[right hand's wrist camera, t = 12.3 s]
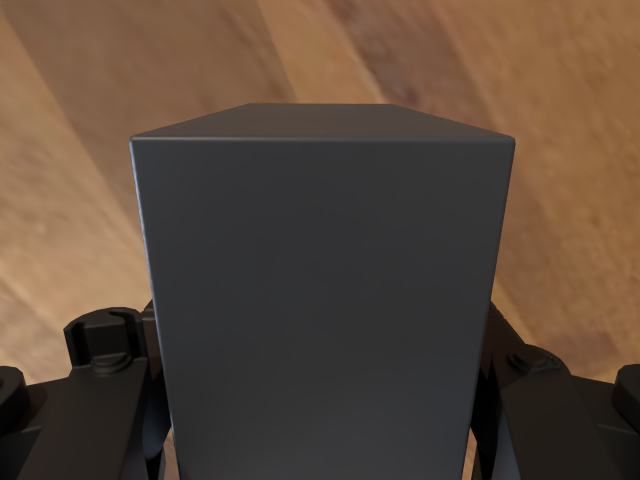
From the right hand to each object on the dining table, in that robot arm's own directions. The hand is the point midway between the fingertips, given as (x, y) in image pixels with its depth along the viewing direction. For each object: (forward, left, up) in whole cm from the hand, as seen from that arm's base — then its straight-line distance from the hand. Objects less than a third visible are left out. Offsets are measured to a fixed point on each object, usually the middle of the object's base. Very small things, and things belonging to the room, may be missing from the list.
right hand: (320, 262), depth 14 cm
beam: (-6, -20, -1) cm, 21 cm away
